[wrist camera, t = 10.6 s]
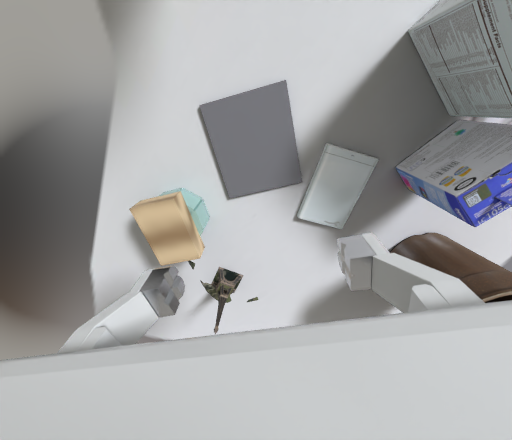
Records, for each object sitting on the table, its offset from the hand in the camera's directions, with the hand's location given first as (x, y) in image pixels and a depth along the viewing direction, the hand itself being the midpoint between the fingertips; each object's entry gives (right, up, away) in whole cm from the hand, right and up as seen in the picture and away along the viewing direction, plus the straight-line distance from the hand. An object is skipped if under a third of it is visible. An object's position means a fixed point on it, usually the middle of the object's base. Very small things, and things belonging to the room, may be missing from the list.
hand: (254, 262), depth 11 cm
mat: (0, +13, +22) cm, 25 cm away
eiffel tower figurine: (-6, -10, +35) cm, 37 cm away
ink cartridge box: (+26, +11, +22) cm, 36 cm away
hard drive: (+13, +7, +25) cm, 29 cm away
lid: (-13, +1, +23) cm, 27 cm away
